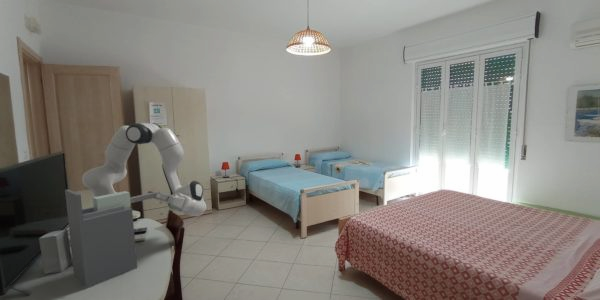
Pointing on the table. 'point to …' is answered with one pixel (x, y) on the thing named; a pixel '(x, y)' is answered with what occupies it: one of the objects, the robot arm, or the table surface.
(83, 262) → the caddy bay
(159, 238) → the table surface
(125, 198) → the pale block gray handle
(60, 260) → the skincare box
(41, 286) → the table surface
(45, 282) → the table surface
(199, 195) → the robot arm
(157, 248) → the table surface
